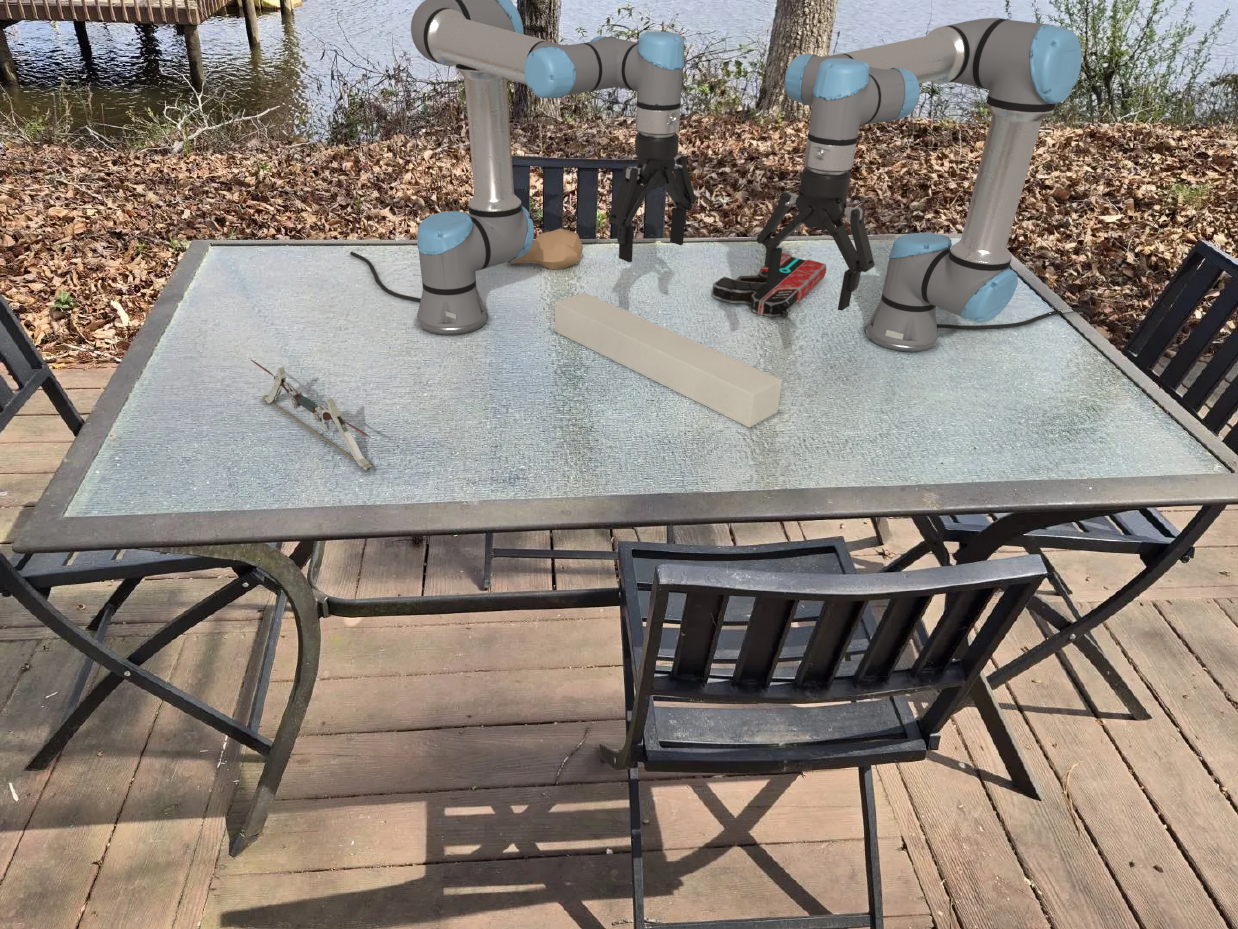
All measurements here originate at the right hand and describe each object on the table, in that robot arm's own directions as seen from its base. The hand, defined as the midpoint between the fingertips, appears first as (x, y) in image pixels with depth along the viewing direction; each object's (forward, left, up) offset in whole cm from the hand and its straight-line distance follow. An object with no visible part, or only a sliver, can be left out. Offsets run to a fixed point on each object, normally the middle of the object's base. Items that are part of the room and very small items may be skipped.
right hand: (806, 297), depth 148 cm
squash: (-9, -93, -26) cm, 97 cm away
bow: (+70, -49, -26) cm, 89 cm away
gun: (-45, -47, -26) cm, 70 cm away
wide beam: (+4, -32, -26) cm, 41 cm away
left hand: (+9, -30, 0) cm, 32 cm away
